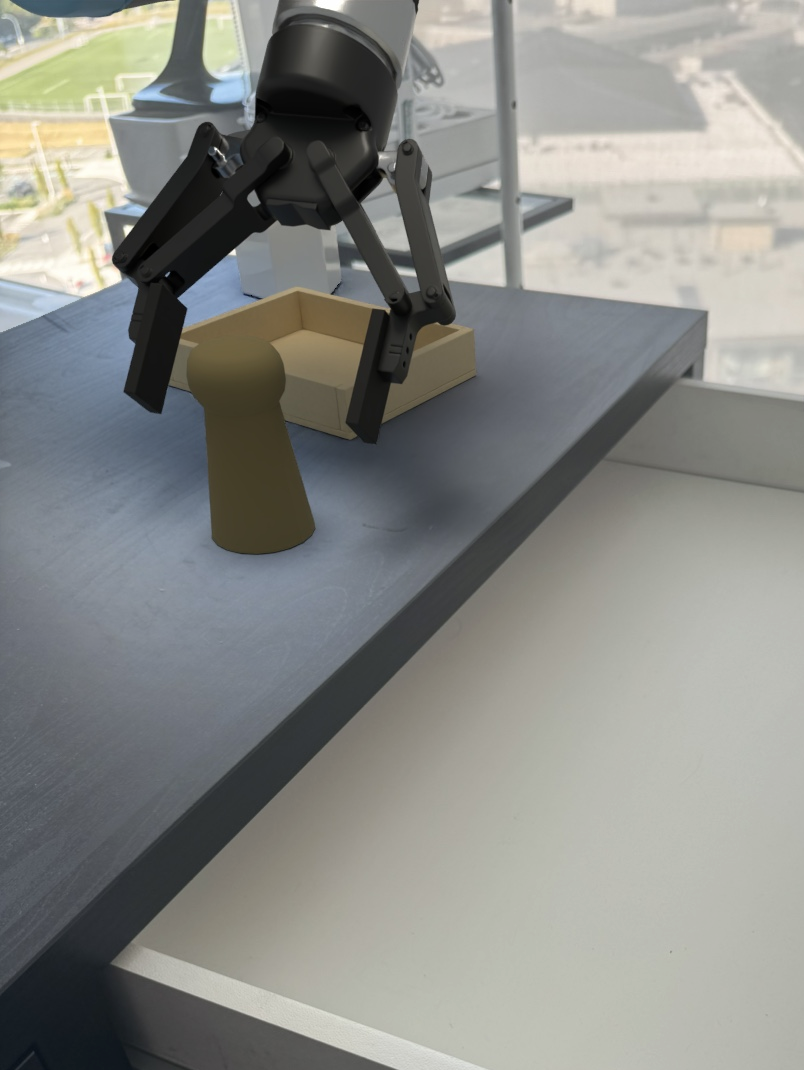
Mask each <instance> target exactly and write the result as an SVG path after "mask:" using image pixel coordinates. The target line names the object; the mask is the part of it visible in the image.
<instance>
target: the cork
mask: <svg viewBox="0 0 804 1070" xmlns="http://www.w3.org/2000/svg"><path fill="white" fill-rule="evenodd" d="M186 376H187V381H188V385H189V388H190V390H191V392H190V393H191V395H192V396H193V399H195V400H196V402H197V403H199V404H200V406H201V407H203V415H204V416H203V417H204V432H205V446H206V447H205V448H206V449H205V450H206V461H207V462H206V464H207V477H208V478H207V481H208V482H207V483H208V497H209V512H210V513H209V515H210V531H211V539H212V540H213V542H214V543H215V544H216V545H217V546H218V547H220V548H222V549H224V550H226V551H230V552H234V553H238V554H249V555H250V554H252V555H253V554H254V555H260V554H271V553H276V552H277V553H278V552H281V551H285V550H289V549H292V548H294V547H296V546H298V545H301V544H302V543H304V542H305V541H307V540H308V539H309V538H310V537H311V536H312V535H313V533H314V531H315V529H316V524H315V519H314V515H313V512H312V508H311V505H310V502H309V498H308V494H307V491H306V488H305V485H304V482H303V478H302V474H301V471H300V468H299V464H298V461H297V457H296V454H295V450H294V447H293V443H292V439H291V436H290V432H289V430H288V426H287V423H286V420H285V419H284V416H283V412H282V409H281V405H280V402H279V400H280V399H281V397H282V395H283V393H284V391H285V384H286V377H285V369H284V363H283V361H282V359H281V356H280V354H279V353H278V351H277V350H276V349H275V348H274V346H273V345H271V344H270V343H269V342H267V341H265V340H263V339H260V338H257V337H253V336H247V335H230V336H221V337H215V338H212V339H209V340H206V341H204V342H202V343H200V344H198V345H197V346H196V347H194V348H193V349H192V351H191V352H190V354H189V357H188V359H187V372H186Z"/></svg>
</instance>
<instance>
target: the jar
mask: <svg viewBox="0 0 804 1070" xmlns="http://www.w3.org/2000/svg"><path fill="white" fill-rule="evenodd" d="M249 130H250V129H245V130H240V131H235V132H232V133H229V134H226V135H227V136H232V137H237V138H242V139H243V138H244V136H245V135H246V134H247V133H248V132H249ZM243 166H244V165H241V166H239V167H238V168H237V169H236V170H235V172H237V171H238V170H239V169H240V168H241V167H243ZM247 199H248V202H249V203H250V204H251V205H252V206H253V207H255V206H257V205H259V204H260V201H259V200H258V198H257V195H256V193H255V191H254V190H253V191H252V192H251V193H250V194H249V195H248V198H247ZM336 225H337V224H336ZM336 225H333V226H331V230H321V229H317V228H314V227H312V226H309V225H301V226H294V227H292V226H282V225H281V224H280V223H279V221H278V220H277V221H276V222H275V223H274V224H272V225H271V226H270V227H269V228H268V229H267V230H266V231H264V232H262V233H256V232H255V233H253V234H251V235H250V236H249V237H248V238H247V239H246V240H244V241H243V242H242V243H241V244H240V245H239V246H237V247H236V248H235V249H234V250H235V256H236V257H235V258H236V263H237V264H236V265H237V270H238V276H239V279H240V280H239V283H240V287H241V292H242V293H243V294H244V293H245V294H244V295H248V296H251V295H252V297H254V298H259V299H264V298H266V297H269V296H272V295H275V294H277V293H280V292H283V291H286V290H288V289H291V288H294V287H296V286H298V287H302V288H306V289H310V290H314V291H318V292H322V293H327V294H331V295H332V294H333V292H334V291H335V290H336V289H337V288H338V286H339V285H340V284H339V282H340V280H341V279H342V271H341V263H340V253H339V246H338V235H337V227H336ZM341 281H342V280H341ZM338 284H339V285H338ZM337 285H338V286H337ZM335 288H336V289H335ZM334 289H335V290H334Z"/></svg>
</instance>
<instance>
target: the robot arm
mask: <svg viewBox="0 0 804 1070" xmlns="http://www.w3.org/2000/svg"><path fill="white" fill-rule="evenodd" d="M9 1H10V2H11V3H12V4H14V5H16V6H17V7H19V8H21V9H22V10H25V11H27V12H29V13H31V14H34V15H37V16H40V17H44V18H52V19H53V18H54V19H55V18H57V19H59V18H60V19H62V18H63V19H65V18H66V19H67V18H68V19H71V18H72V19H73V18H92V19H93V18H94V19H95V18H96V19H97V18H106V17H111V16H113V15H114V14H117V13H120V12H123V11H124V10H129V9H133V8H139V7H144V6H148V5H152V4H156V3H157V4H158V3H164V2H173V1H175V0H9ZM419 3H420V0H278V3H277V6H276V10H275V14H274V18H273V23H272V28H271V31H272V32H271V36H270V37H269V39H268V41H267V44H266V49H265V51H264V57H263V61H262V64H261V68H260V72H259V77H258V80H257V85H256V88H255V94H254V121H253V124H252V125H251V127H250V128H249V129H248V130H249V132H248V133H247V134H246V135H245V136H244V138H243V139H242V138H237V137H232V136H227V135H228V134H223V133H221V132H220V131H219V130H218V128H217V127H216V126H215V124H214V123H213V122H211V121H204V122H201V124H199V125H198V127H197V128H196V130H195V133H194V136H193V139H192V141H191V144H190V147H189V149H188V152H187V154H186V157H185V158H184V160H183V161H182V162H181V164H180V165H179V166H178V168H177V169H176V170H175V171H174V173H173V174H172V176H170V178H169V179H168V180H167V182H166V183H165V185H164V186H163V187H162V188H161V190H160V191H159V193H158V194H157V195H156V196H155V198H154V199H153V201H152V202H151V203H150V205H149V206H148V207H147V208H146V209H145V211H144V212H143V214H142V215H141V216H140V218H139V219H138V220H137V222H136V223H135V224H134V226H133V227H132V229H130V230H129V232H128V233H127V235H126V236H125V238H124V239H123V240H122V241H121V242H120V243H119V245H118V247H117V248H116V249H115V250H114V252H113V254H112V256H111V263H112V264H113V265H114V267H115V268H116V269H117V270H119V271H120V273H121V274H123V276H125V277H126V278H127V279H128V280H129V281H130V283H132V284H133V285H134V286H135V287H136V288H137V293H136V297H135V301H134V305H133V310H132V314H131V317H130V321H129V325H128V329H127V332H128V339H129V340H130V341H131V342H132V343H134V347H133V351H132V355H131V359H130V363H129V367H128V372H127V375H126V378H125V384H124V387H123V390H122V391H123V392H122V393H124V394H125V395H126V396H128V397H129V398H130V399H132V400H133V401H134V402H135V403H137V404H138V405H140V406H141V407H142V408H143V409H145V410H146V411H147V412H149V413H150V414H151V413H152V414H158V415H162V413H163V409H164V405H165V401H166V397H167V393H168V389H169V386H170V385H169V381H170V377H171V373H172V369H173V365H174V361H175V357H176V353H177V349H178V345H179V341H180V337H181V333H182V329H183V328H184V325H185V321H186V316H187V312H188V307H187V306H185V304H184V303H183V302H182V301H180V299H179V298H180V297H181V296H182V295H183V294H184V293H185V292H187V291H188V290H190V288H192V287H193V286H194V285H195V284H196V283H197V282H199V280H201V279H202V278H203V277H204V276H206V274H208V273H209V272H210V271H211V270H212V269H213V268H214V267H215V266H217V265H219V263H221V261H223V260H224V259H225V258H226V257H227V256H228V255H230V254H231V253H232V252H233V251H234V250H235V248H236V247H237V246H239V245H240V244H241V243H242V242H243V241H244V240H246V239H247V238H248V237H249V236H250V235H251V234H253V233H255V232H256V233H262V232H264V231H266V230H267V229H268V228H269V227H270V226H271V225H272V224H274V223H275V222H276V221H277V220H278V221H279V223H280V224H281V225H282V226H292V227H294V226H301V225H309V226H312V227H314V228H317V229H321V230H331V226H333V225H339V224H340V223H343V224H344V226H345V228H346V230H347V231H348V233H349V235H350V237H351V239H352V241H353V243H354V245H355V246H356V248H357V250H358V252H359V254H360V256H361V258H362V260H363V261H364V264H365V265H366V266H367V269H368V271H369V272H370V274H371V276H372V278H373V280H374V281H375V283H376V285H377V287H378V289H379V291H380V293H381V294H382V296H383V298H384V299H383V300H384V301H385V303H386V304H387V307H388V308H389V309H390V313H389V315H388V313H387V312H386V310H382V309H374V308H372V312H371V316H370V320H369V325H368V329H367V333H366V337H365V341H364V346H363V350H362V354H361V358H360V363H359V367H358V371H357V375H356V379H355V384H354V388H353V392H352V396H351V401H350V405H349V409H348V413H347V417H346V422H345V423H346V424H347V425H348V426H349V427H350V428H351V429H352V430H353V432H354V433H355V434H356V435H357V437H358V438H359V439H360V440H361V441H362V442H363V443H364V444H369V445H377V443H378V440H379V437H380V432H381V427H382V424H383V423H382V419H383V415H384V411H385V406H386V402H387V398H388V394H389V389H390V385H391V383H396V384H402V383H403V382H404V380H405V379H406V377H407V375H408V371H409V365H410V362H411V358H412V354H413V350H414V345H415V341H416V337H417V334H418V332H419V330H420V329H421V328H422V327H424V326H426V325H429V324H433V323H437V322H438V323H439V324H440V325H443V326H446V325H449V324H451V323H452V324H453V323H454V321H455V320H456V317H457V311H456V307H455V303H454V299H453V295H452V290H451V287H450V282H449V278H448V275H447V270H446V266H445V263H444V258H443V256H442V251H441V246H440V241H439V239H438V234H437V231H436V226H435V222H434V217H433V215H432V210H431V206H430V199H431V192H432V191H431V190H432V181H433V171H432V169H431V167H430V165H429V164H428V161H427V160H426V158H425V155H424V154H423V151H422V149H421V148H420V146H419V144H418V142H417V141H416V140H414V139H413V138H406V139H403V140H402V141H401V142H400V143H399V145H398V146H397V149H396V150H386V148H387V145H388V141H389V137H390V132H391V128H392V124H393V120H394V115H395V111H396V107H397V103H398V98H399V97H398V96H399V93H398V90H399V89H401V86H402V83H403V80H404V75H405V70H406V65H407V62H408V57H409V53H410V47H411V44H412V38H413V34H414V31H415V30H414V28H415V23H416V18H417V15H418V12H419ZM241 165H244V166H243V167H241V168H240V169H239V170H238V171H237V172H235V170H236V169H237V168H238V167H239V166H241ZM384 179H386V180H387V183H388V184H389V186H390V188H391V189H392V191H393V193H395V195H396V198H397V201H398V205H399V209H400V213H401V217H402V221H403V226H404V230H405V233H406V239H407V242H408V246H409V250H410V254H411V259H412V263H413V266H414V267H413V268H414V271H415V274H416V280H417V283H418V288H419V290H418V291H413V292H410V291H409V290H408V288H407V286H406V284H405V283H404V280H403V278H402V277H401V275H400V273H399V272H398V269H397V267H396V266H395V263H394V262H393V261H392V259H391V257H390V255H389V252H388V251H387V249H386V248H385V246H384V244H383V242H382V240H381V239H380V237H379V234H378V233H377V230H376V229H375V227H374V224H373V223H372V221H371V219H370V217H369V216H368V214H367V212H366V210H365V208H364V207H363V205H362V203H363V201H364V200H366V199H367V197H369V195H371V194H372V193H373V192H374V191H375V190H376V189H377V188H378V187H379V186H380V185H381V184H382V182H383V181H384ZM253 190H254V191H255V193H256V195H257V198H258V200H259V201H260V204H259V205H257V206H255V207H253V206H252V205H251V204H250V203H249V202H248V199H247V198H248V195H249V194H250V193H251V192H252V191H253Z"/></svg>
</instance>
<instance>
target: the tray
mask: <svg viewBox="0 0 804 1070" xmlns="http://www.w3.org/2000/svg"><path fill="white" fill-rule="evenodd" d="M372 308H374V309H382V310H386V312H387V313H388V315H389V313H390V307H386V306H385V307H384V306H380V305H377V304H372V303H367V302H364V301H359V300H355V299H353V298H352V299H351V298H347V297H343V296H340V295H339V296H338V295H334V294H332V293H331V294H327V293H322V292H318V291H314V290H310V289H306V288H302V287H298V286H296V287H294V288H291V289H288V290H286V291H283V292H280V293H277V294H275V295H272V296H269V297H266V298H264V299H262V298H260V299H259V300H256V301H252V302H250V303H248V304H244V305H242V306H239V307H237V308H234V309H231V310H228V311H226V312H223V313H221V314H218V315H214V316H211V317H209V318H206V319H204V320H201V321H198V322H196V323H192V324H190V325H188V326H183V329H182V333H181V337H180V341H179V345H178V349H177V353H176V357H175V361H174V365H173V369H172V373H171V377H170V381H169V385H168V386H169V387H174V388H177V389H180V390H183V391H186V392H190V393H191V390H190V388H189V385H188V381H187V376H186V372H187V359H188V357H189V354H190V352H191V351H192V349H193V348H194V347H196V346H197V345H198V344H200V343H202V342H204V341H206V340H209V339H212V338H215V337H221V336H230V335H247V336H253V337H257V338H260V339H263V340H265V341H267V342H269V343H270V344H271V345H273V346H274V348H275V349H276V350H277V351H278V353H279V354H280V356H281V359H282V361H283V363H284V369H285V377H286V384H285V391H284V393H283V395H282V397H281V399H280V400H279V402H280V405H281V409H282V412H283V416H284V419H285V422H289V423H292V424H295V425H299V426H302V427H306V428H308V429H309V428H310V429H313V430H316V431H318V432H323V433H326V434H329V435H333V436H334V437H335V436H336V437H339V438H343V439H346V440H349V441H351V440H353V439H355V438H357V437H358V436H357V435H356V434H355V433H354V432H353V430H352V429H351V428H350V427H349V426H348V425H347V424H346V423H345V422H346V417H347V413H348V409H349V405H350V401H351V396H352V392H353V388H354V384H355V379H356V375H357V371H358V367H359V363H360V358H361V354H362V350H363V346H364V341H365V337H366V333H367V329H368V325H369V320H370V316H371V312H372ZM475 343H476V341H475V329H474V328H471V327H468V326H465V325H460V324H455V323H453V322H452V323H451V324H449V325H446V326H443V325H440V324H439V323H438V322H437V323H433V324H429V325H426V326H424V327H422V328H421V329H420V330H419V332H418V334H417V337H416V341H415V345H414V350H413V354H412V358H411V362H410V365H409V371H408V375H407V377H406V379H405V380H404V382H403V383H402V384H396V383H391V385H390V389H389V394H388V398H387V402H386V406H385V411H384V415H383V419H382V424H384V423H386V422H389V421H390V420H392V419H394V418H396V417H398V416H400V415H402V414H404V413H406V412H408V411H409V410H411V409H414V408H415V407H418V406H419V405H421V404H424V403H426V402H427V401H429V400H431V399H433V398H435V397H437V396H438V395H440V394H442V393H444V392H447V391H449V390H450V389H452V388H454V387H456V386H458V385H460V384H462V383H464V382H466V381H467V380H470V379H472V378H473V377H475V376H477V369H476V368H477V366H476V344H475Z"/></svg>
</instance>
